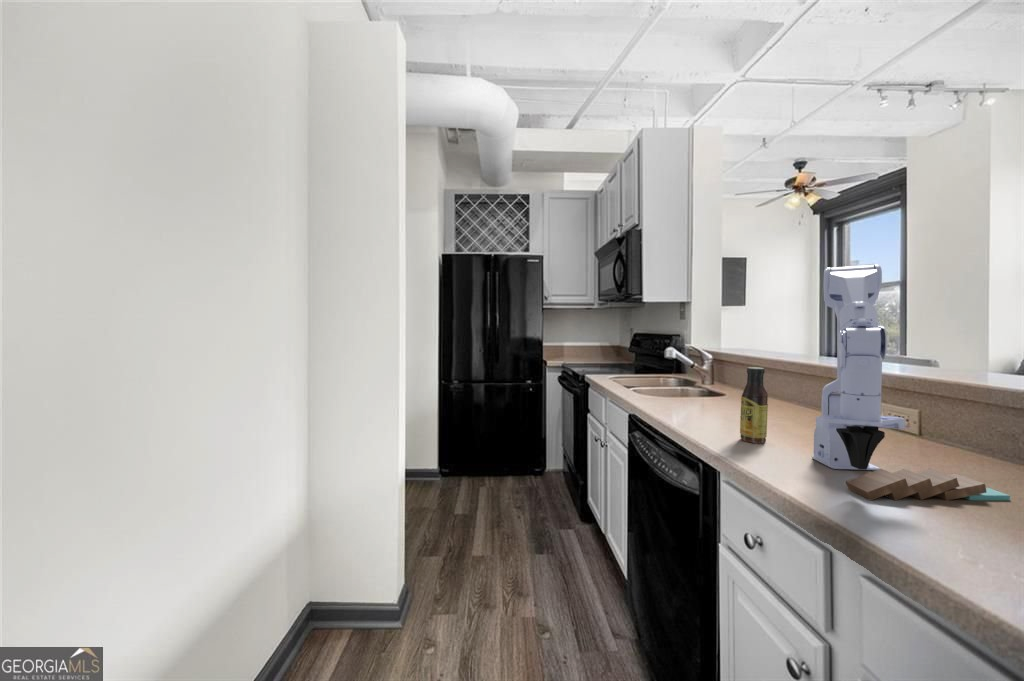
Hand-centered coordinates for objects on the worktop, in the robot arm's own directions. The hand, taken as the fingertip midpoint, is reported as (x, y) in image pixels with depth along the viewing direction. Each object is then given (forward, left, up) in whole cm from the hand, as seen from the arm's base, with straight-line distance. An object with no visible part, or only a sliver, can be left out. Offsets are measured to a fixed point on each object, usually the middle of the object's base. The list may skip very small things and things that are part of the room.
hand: (858, 467), depth 77 cm
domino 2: (+4, 0, -4) cm, 6 cm away
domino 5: (+17, +2, -5) cm, 18 cm away
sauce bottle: (-3, +36, -5) cm, 36 cm away
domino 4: (+13, +1, -4) cm, 14 cm away
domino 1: (0, 0, -4) cm, 4 cm away
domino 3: (+9, +1, -4) cm, 10 cm away
